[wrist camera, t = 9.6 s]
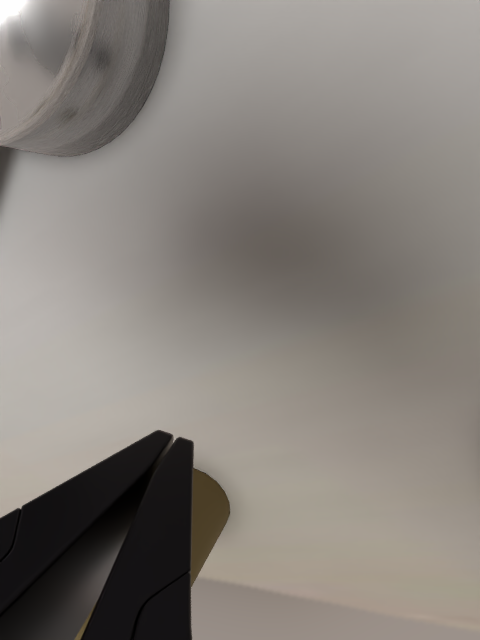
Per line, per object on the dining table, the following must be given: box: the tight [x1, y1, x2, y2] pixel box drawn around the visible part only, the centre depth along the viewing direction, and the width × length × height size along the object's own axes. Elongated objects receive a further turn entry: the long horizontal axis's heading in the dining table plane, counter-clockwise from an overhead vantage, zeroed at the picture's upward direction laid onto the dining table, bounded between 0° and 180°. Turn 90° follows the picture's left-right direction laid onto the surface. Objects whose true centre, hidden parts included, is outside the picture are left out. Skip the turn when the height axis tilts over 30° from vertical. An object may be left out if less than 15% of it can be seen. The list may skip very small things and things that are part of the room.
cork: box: [74, 468, 230, 640], centre depth 21 cm, size 6×6×11 cm
